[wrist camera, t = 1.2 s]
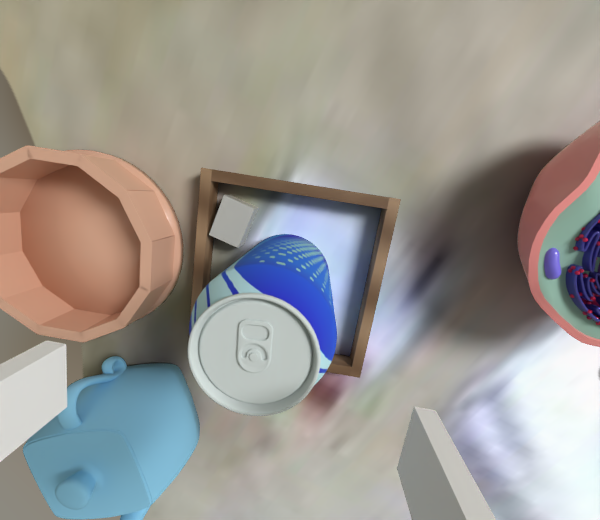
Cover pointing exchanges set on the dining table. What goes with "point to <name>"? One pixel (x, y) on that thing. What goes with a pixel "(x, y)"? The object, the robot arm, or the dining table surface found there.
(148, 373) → the teapot
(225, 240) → the stone
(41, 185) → the dish
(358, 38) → the dining table surface
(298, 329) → the beer can
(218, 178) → the tray
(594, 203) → the cell model
